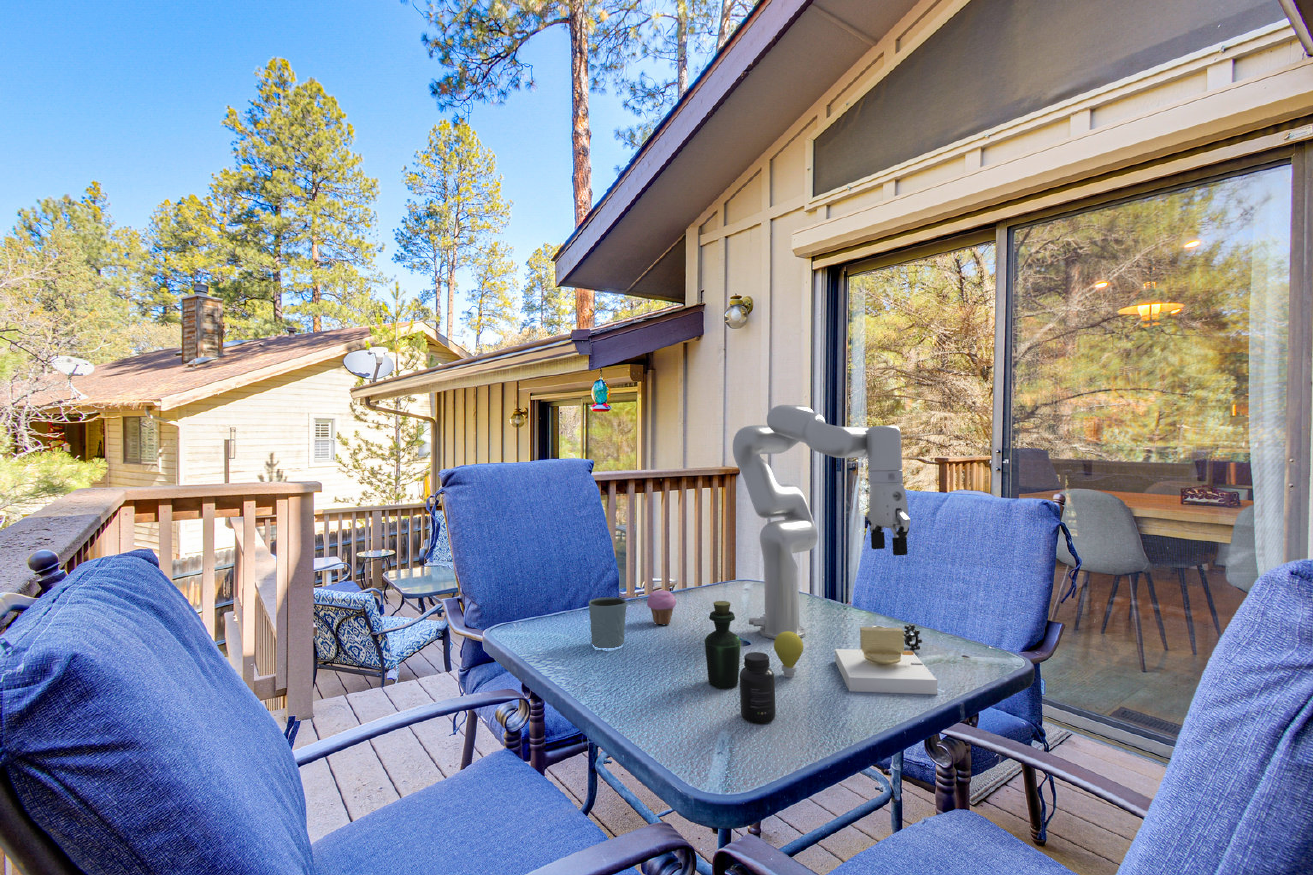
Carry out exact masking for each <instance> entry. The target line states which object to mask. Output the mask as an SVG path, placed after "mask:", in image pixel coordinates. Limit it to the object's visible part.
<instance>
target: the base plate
mask: <svg viewBox="0 0 1313 875" xmlns="http://www.w3.org/2000/svg"><path fill="white" fill-rule="evenodd" d="M834 653H835V655H834V658H835V659H834V660H835V661H834V662H835V663H836V666H837V667H838V670H839V672H840V675H841V676H842V679H843V681H844V683H845V685H846V686H847V689H848V691H849V692H856V693H858V692H859V693H860V692H862V693H863V692H864V693H865V692H866V693H886V694H889V693H891V694H915V695H916V694H917V695H918V694H923V695H938V679H937V678H936V677H935V676H934V675H933V673H932V672H931V671H930V670H929V669H928V667H927V666H926V665H925V664H924V663H923V662H922V661H921V659H920V658H918V656H917V655H916V654H915V652H913V655H902V654H901V661H900V662H898V663H895V664H878V663H875V662H872V661H869V660H867V659H865V658H864V652H862V650H861V649H856V648H854V649H852V648H851V649H850V648H849V649H848V648H847V649H846V648H834Z"/></svg>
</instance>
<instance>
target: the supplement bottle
mask: <svg viewBox="0 0 1313 875" xmlns="http://www.w3.org/2000/svg"><path fill="white" fill-rule="evenodd" d="M743 660H744V661H743V666H744V667H742V669H741V670H740V671H739V697H740V699H739V702H740V704H739V705H740V716H741V718H742V719H743V720H744V721H745V722H747V723H750V724H753V725H766V724H769V723H771V722H773V721H774V720H775V718H776V715H777V714H776V680H775V679H776V677H775V673H774V671H773V670H772V669H771V667H770V665H771V663H770V656H769V655H768V654H766V653H765V652H759V651H752V652H751V651H750V652H747V653H746V654H744V659H743Z"/></svg>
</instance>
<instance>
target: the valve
mask: <svg viewBox="0 0 1313 875" xmlns="http://www.w3.org/2000/svg"><path fill="white" fill-rule="evenodd" d="M872 627H884V628H887V627H885V626H883V625H873V626H872ZM903 627H904V630H903V631H904V645H906V646H907V647H909V651H919V650H921V646H920V645H919V644H922V643H923V640H922V638H921V637H920V636H919V635H920V633H921V632H920V631H921V630H919V629H915V628H916V625H915V624H913V623H912V624H908V625H904V626H903ZM913 642H914V643H913Z"/></svg>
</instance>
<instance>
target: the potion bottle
mask: <svg viewBox="0 0 1313 875" xmlns="http://www.w3.org/2000/svg"><path fill="white" fill-rule="evenodd" d="M712 604H713V607H714V610H713V611H711V612H710V613H709V616H708V619H709V620H710V621H713V624H714V628H715V630H714V631H712V632H710V633H709V634H707V635H706V637H705V639H704V641H703V642H704V650H705V658H706V659H705V661H706V670H707V680H708V684H709V685H710V686H711V687H712V688H716V689H720V690H728V689H734V688H735V687H737V685H738V683H739V678H740V661H741V646H742V642H741V639H740V637H739V636H738V635H737V634H736V633H734V632H732V631H731V630H730V626H731V622H733V621H735V620H736V615H735V614H734V612H733V611H730V608H731V602H730V601H726V600H716V601H713V603H712Z"/></svg>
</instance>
